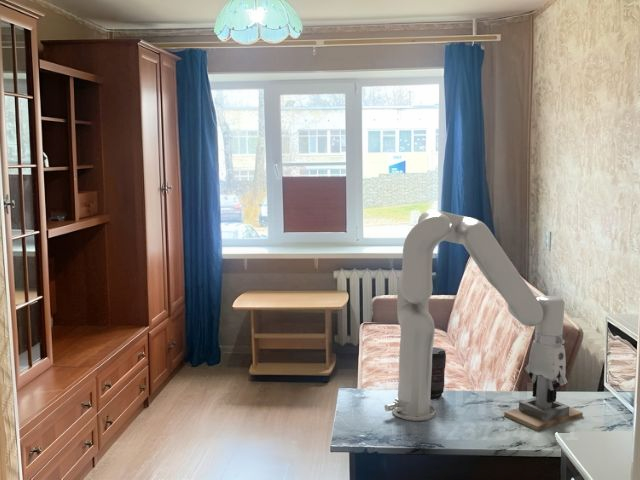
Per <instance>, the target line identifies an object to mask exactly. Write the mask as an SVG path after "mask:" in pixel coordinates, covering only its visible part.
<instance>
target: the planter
mask: <svg viewBox="0 0 640 480" xmlns="http://www.w3.org/2000/svg"><path fill="white" fill-rule="evenodd" d="M548 389H550V388H549V380H548V379H547V378H545V377H544V376H542V375H537V389H536V403H535V406H537V407H539V408H541V409H544V410H549V409H551V407H552V402H551V403H548V402H547V392H548Z"/></svg>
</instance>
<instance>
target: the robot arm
mask: <svg viewBox="0 0 640 480" xmlns="http://www.w3.org/2000/svg"><path fill="white" fill-rule="evenodd" d="M443 241H445V242H449V243H454V244H459V245H462V246H463V247H464V248H465V250H466V251H467V253H468V254H469V256H470V257H471V258H472V260H473V261H474V263H475V265H476V266H477V268H478V269H479V271H480V272H481V274H482V275H483V276H484V278H485V279H486V281H487V282H488V283H489V284H490V285H491V286H492V287H493V288H494V289H495V290H496V291H497V292H498V293H499V294H500V295H501V297H502V298H503V300H504V301H505V302H506V304H507V310H508V312H509V313H510V315H511V316H512V317H513V318H514V319H515V320H517V322H519V323H520V324H521V325H522V326H525V327H530V328H531V327H535V329H534V330H535V331H534V339H533V341H532V344H531V347H530V351H529V359H528V364H527V365H526V366H525V368H524V370H525V371H526V373H527V374H528V376H529V378H530V382H531V383H532V395H531V396H532V398H535V397H536V389H537V375H542V376H544V377H545V378H547V379H548V380H549V388H550V389H548V392H547V402H548V403H551V402H555V401H557V394H558V393H557V392H558V391H557V390H558V389H560V388H561V387H562V386H564V385H566V384H568V380H567V378H566V377H567V376H566V370H567V369H566V366H567V364H566V359H567V358H566V349H565V345H564V344H565V342H566V340H565V339H563V330H564V320H565V319H564V316H565V301H564V299H563V298H561V297H559V296H555V295H554V296H553V295H542V296H540V295H535V294H534V292H533V291H532V290H531V288H530V287H529V285H528V284H527V282H526V281H525V280H524V279H523V277H522V276H521V274H520V272H519V271H518V270H517V268H516V266H515V265H514V264H513V262H512V261H511V260H510V258H509V257H508V256H507V253H506V252H505V251H504V249H503V247H501V245H500V244H499V242H498V240H497V239H496V238H495V236H494V234H493V233H492V231H491V230H490V228H489V227H488V226H487V225H486V224H485V223H484V222H483V221H481V220H479V219H477V218H475V217H469V216H464V215H461V214H460V215H459V214H455V213H451V212H446V211H442V210H438V209H427V210H424V211H423V212H422V213H421V214H420V216H419V218H418V219H417V224H415V225H414V226H413V227H412V228H411V229H410V231H409V233H408V234H407V236H406V237H405V238H404V242H403V248H402V266H401V272H400V273H399V276H398V277H397V278H398V279H397V284H396V285H397V287H396V288H397V289H396V295H397V298H396V303H397V304H396V305H397V307H396V308H397V311H396V312H397V313H396V314H397V321H398V325H399V329H400V340H399V351H398V352H399V354H398V356H399V359H398V384H397V397H395V398H394V401H393V402H392V403H387V404H384V410H385V412H390V411H392V414H394V416H395V417H398V418H399V419H401V420H402V419H403V420H406V421H412V422H413V421H414V422H419V421H428V420H431V419H433V418H434V417H435V416H436V409H435V408H434V407H433V406H432V405H431V400H430V396H431V373H432V351H433V347H434V340H435V331H436V330H435V329H436V327H435V322H434V321H435V320H434V319H433V317H432V315H431V313H430V312H429V309H430V308H429V305H430V304H429V299H430V298H431V296H432V294H433V289H434V288H433V287H434V286H433V257H434V256H433V255H434V251H435V249H436V246H438V245H439V243H441V242H443Z"/></svg>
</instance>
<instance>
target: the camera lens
mask: <svg viewBox="0 0 640 480" xmlns="http://www.w3.org/2000/svg"><path fill="white" fill-rule="evenodd" d="M446 361H447V353H446V350H445V349H443V348H441V347H435V346H433V351H432V373H431V396H430V401H432V400H435V399H436V400H439V399H441V398H442V396H443V393H444V389H445V372H446V369H445V368H446V364H447V363H446Z"/></svg>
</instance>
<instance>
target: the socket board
mask: <svg viewBox="0 0 640 480" xmlns="http://www.w3.org/2000/svg"><path fill="white" fill-rule="evenodd" d="M535 403H536V397H532V398H529V399H525V400H521V401H519V402H518V407H517V408H514V409H510V410H506V411H504V412H503V413H504V415H503V416H504V417H506V418H508V419H511V420H513V421H515V422H517V423H519V424H522V425H523V426H527V427H528V428H530V429H533V430H535V431H539V430H543V429H547V428H549V427H553V426H556V425H558V424H562V423H565V422H568V421H573V420H575V419H578V418H581V417H583V414H584V413H583V412H582V411H580V410H578V409H575V408H572V407H570V406H569V405H566V404H564V403H562V402H559V401H557V400H556V401H555V402H552V407H551V409H549V410H544V409H541V408H539V407H537V406H535Z"/></svg>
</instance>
